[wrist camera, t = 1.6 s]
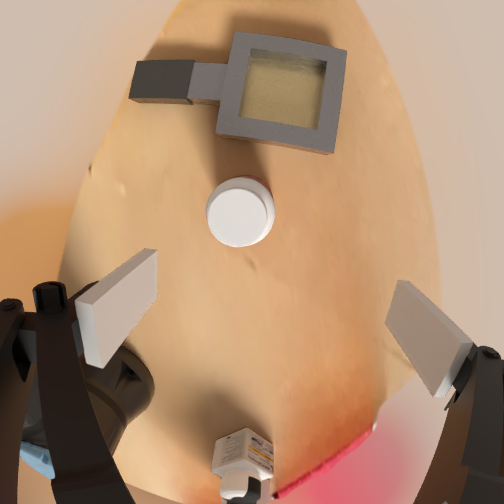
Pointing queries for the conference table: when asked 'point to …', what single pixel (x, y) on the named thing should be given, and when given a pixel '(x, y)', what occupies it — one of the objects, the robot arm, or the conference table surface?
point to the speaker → (265, 494)
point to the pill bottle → (241, 211)
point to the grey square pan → (257, 90)
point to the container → (242, 465)
